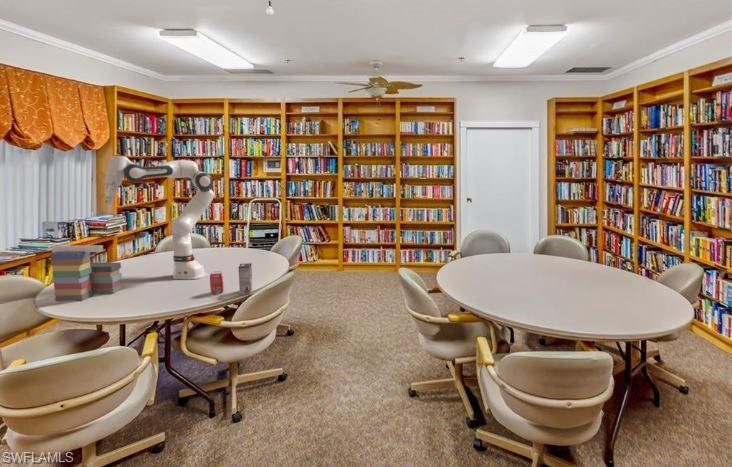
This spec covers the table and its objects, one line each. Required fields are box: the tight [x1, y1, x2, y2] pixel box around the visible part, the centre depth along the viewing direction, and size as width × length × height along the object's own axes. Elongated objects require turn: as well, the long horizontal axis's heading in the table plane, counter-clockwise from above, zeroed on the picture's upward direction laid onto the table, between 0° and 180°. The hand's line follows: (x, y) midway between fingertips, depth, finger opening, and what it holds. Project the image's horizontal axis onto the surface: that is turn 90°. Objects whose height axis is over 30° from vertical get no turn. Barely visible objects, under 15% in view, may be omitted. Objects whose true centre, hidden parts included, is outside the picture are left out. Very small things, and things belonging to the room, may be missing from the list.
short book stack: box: [89, 262, 123, 295], centre depth 233 cm, size 16×10×16 cm, turn 94°
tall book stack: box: [49, 252, 94, 302], centre depth 220 cm, size 14×10×26 cm
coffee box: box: [238, 262, 253, 295], centre depth 233 cm, size 9×6×16 cm
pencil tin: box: [51, 244, 104, 253], centre depth 218 cm, size 24×4×3 cm, turn 94°
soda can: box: [209, 270, 225, 295], centre depth 232 cm, size 7×7×12 cm
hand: (107, 203), depth 241 cm, fingers open, 8 cm apart
